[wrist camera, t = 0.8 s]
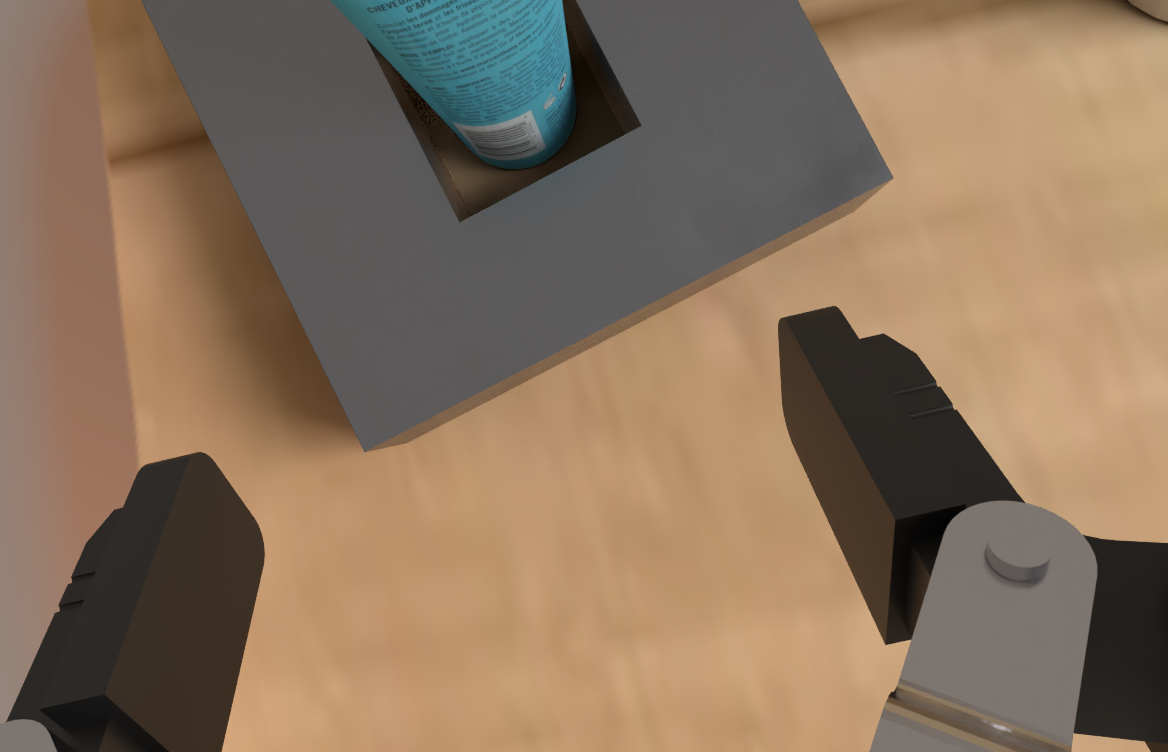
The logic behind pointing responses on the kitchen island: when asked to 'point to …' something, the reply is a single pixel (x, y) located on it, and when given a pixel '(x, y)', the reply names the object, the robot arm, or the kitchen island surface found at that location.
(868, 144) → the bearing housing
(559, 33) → the tube
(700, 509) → the kitchen island surface
